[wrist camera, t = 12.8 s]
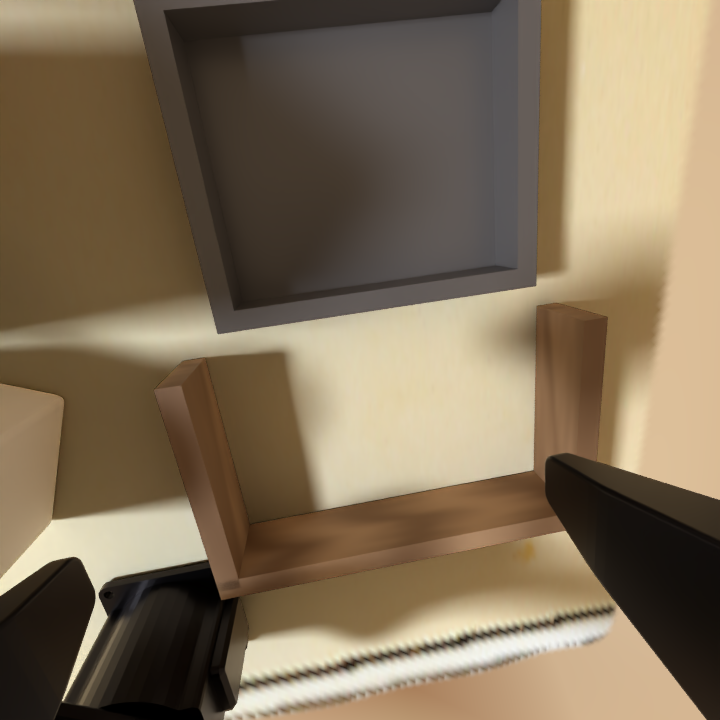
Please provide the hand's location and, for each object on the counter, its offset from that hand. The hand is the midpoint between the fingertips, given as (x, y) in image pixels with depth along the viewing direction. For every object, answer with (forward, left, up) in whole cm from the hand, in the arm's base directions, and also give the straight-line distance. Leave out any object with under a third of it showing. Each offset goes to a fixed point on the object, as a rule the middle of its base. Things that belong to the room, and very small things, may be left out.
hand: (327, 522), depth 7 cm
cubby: (+3, -4, -12) cm, 13 cm away
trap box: (+3, +8, -12) cm, 14 cm away
